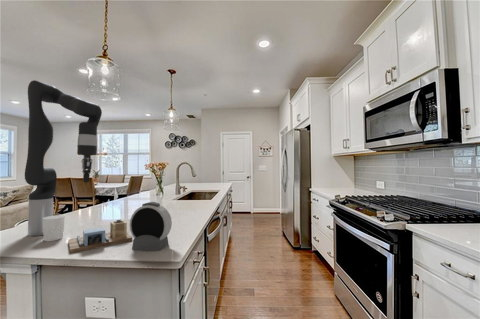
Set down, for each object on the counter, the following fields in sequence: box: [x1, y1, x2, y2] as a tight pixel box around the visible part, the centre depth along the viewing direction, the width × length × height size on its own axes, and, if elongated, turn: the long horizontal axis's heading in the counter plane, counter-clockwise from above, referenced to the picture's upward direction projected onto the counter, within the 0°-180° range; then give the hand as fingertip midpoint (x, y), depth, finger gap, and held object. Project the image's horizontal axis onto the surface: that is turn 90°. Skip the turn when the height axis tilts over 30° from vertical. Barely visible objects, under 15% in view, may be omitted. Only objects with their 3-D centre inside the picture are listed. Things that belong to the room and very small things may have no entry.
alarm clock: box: [129, 201, 173, 252], centre depth 92 cm, size 16×10×18 cm, turn 82°
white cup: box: [42, 214, 66, 242], centre depth 102 cm, size 8×8×10 cm
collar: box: [109, 219, 128, 238], centre depth 102 cm, size 6×6×6 cm
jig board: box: [67, 219, 133, 254], centre depth 98 cm, size 15×22×8 cm
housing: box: [82, 226, 106, 246], centre depth 93 cm, size 6×7×5 cm
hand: (86, 182), depth 103 cm, fingers closed
